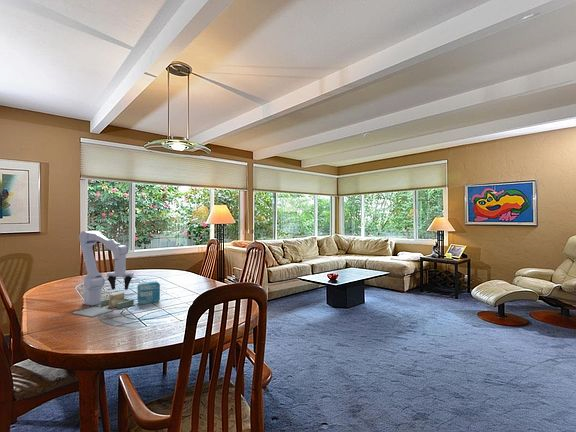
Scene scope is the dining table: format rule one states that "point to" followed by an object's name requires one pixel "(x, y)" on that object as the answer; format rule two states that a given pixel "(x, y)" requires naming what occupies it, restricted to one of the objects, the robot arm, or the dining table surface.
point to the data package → (148, 292)
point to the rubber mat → (92, 311)
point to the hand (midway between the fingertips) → (119, 289)
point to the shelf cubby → (120, 305)
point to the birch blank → (116, 299)
